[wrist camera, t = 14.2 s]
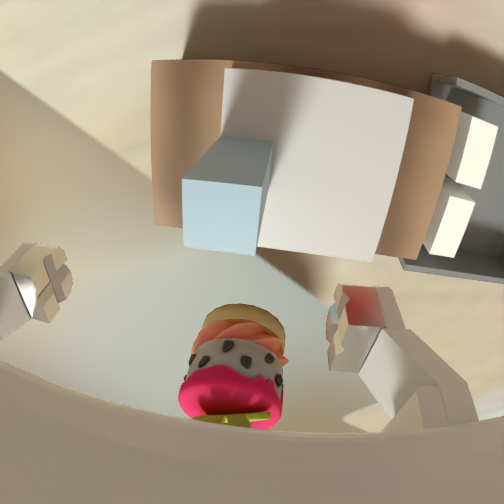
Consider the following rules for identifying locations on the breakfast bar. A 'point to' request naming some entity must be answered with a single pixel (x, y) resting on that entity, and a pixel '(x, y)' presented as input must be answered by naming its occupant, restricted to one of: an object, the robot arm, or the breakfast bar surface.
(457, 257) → the tray
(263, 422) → the cake
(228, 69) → the blue-knobbed white block
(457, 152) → the tile
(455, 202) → the tile
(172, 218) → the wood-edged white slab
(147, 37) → the breakfast bar surface
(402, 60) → the breakfast bar surface
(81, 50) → the breakfast bar surface
